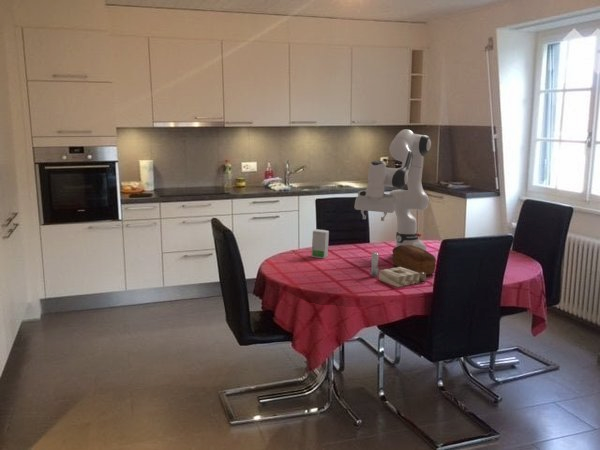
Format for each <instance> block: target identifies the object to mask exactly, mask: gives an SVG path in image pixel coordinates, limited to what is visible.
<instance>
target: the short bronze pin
mask: <svg viewBox="0 0 600 450" xmlns="http://www.w3.org/2000/svg"><path fill="white" fill-rule="evenodd" d="M426 278H427V275H426V273H425V272H419V283H421V282H424V283H426V282H427V281H426V280H427V279H426Z"/></svg>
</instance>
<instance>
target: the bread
mask: <svg viewBox="0 0 600 450" xmlns="http://www.w3.org/2000/svg"><path fill="white" fill-rule="evenodd" d="M391 252H392V264H393V265H394V266H395V267H402V268H405V269H408V270H411V271H414V272H417V273H419V272H425V273H426V276H429V275H430V276H431V275H433V274H434V273H435V270H436V263H437V262H436V261H437V258H436V257H435V255H434V254H432V253H430V252H429V251H427V250H426V251H425V250H423V249H421V248H419V247H415V246H412V245H400V246H397V247H395V246H394V248H393V249H392V251H391Z"/></svg>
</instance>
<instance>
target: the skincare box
mask: <svg viewBox="0 0 600 450" xmlns="http://www.w3.org/2000/svg"><path fill="white" fill-rule="evenodd" d="M329 235H330V231H329V230H326V229H318V228H316V229H313V231H312V239H311V240H312V243H311V244H312V245H311V257H312V258H316V259H317V258H318V259H325V258H327V257H329V256H328V253H329V238H330V236H329Z"/></svg>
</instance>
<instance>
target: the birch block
mask: <svg viewBox="0 0 600 450" xmlns="http://www.w3.org/2000/svg"><path fill="white" fill-rule="evenodd" d="M378 280H379V281H380V282H383V283H385V284H388V285H391V286H395V287H396V288H399V287H405V285H406V286H411V285H415V284H414V283H416V284H419V283H420V282H419V273H417V272H414V271H411V270H408V269H405V268H402V267H398V266H395V267H391V268H385V269H378ZM410 284H411V285H410Z"/></svg>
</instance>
